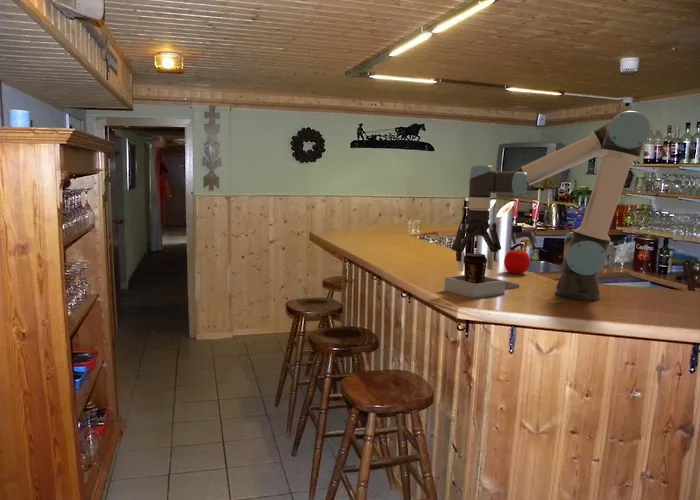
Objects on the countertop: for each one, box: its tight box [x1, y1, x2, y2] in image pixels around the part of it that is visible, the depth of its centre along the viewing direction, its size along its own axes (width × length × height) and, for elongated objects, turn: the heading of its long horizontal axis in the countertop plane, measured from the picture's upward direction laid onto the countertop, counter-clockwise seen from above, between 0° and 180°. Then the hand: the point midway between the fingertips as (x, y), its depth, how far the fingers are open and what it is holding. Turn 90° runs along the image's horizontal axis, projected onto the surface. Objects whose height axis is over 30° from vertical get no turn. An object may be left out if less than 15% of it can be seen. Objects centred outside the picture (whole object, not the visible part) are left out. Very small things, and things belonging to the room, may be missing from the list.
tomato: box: [503, 248, 531, 275], centre depth 238 cm, size 10×11×11 cm
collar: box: [504, 280, 520, 290], centre depth 210 cm, size 15×15×1 cm
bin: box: [443, 274, 506, 300], centre depth 196 cm, size 15×15×5 cm
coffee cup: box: [463, 252, 488, 284], centre depth 196 cm, size 9×8×13 cm
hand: (475, 270), depth 195 cm, fingers open, 11 cm apart
